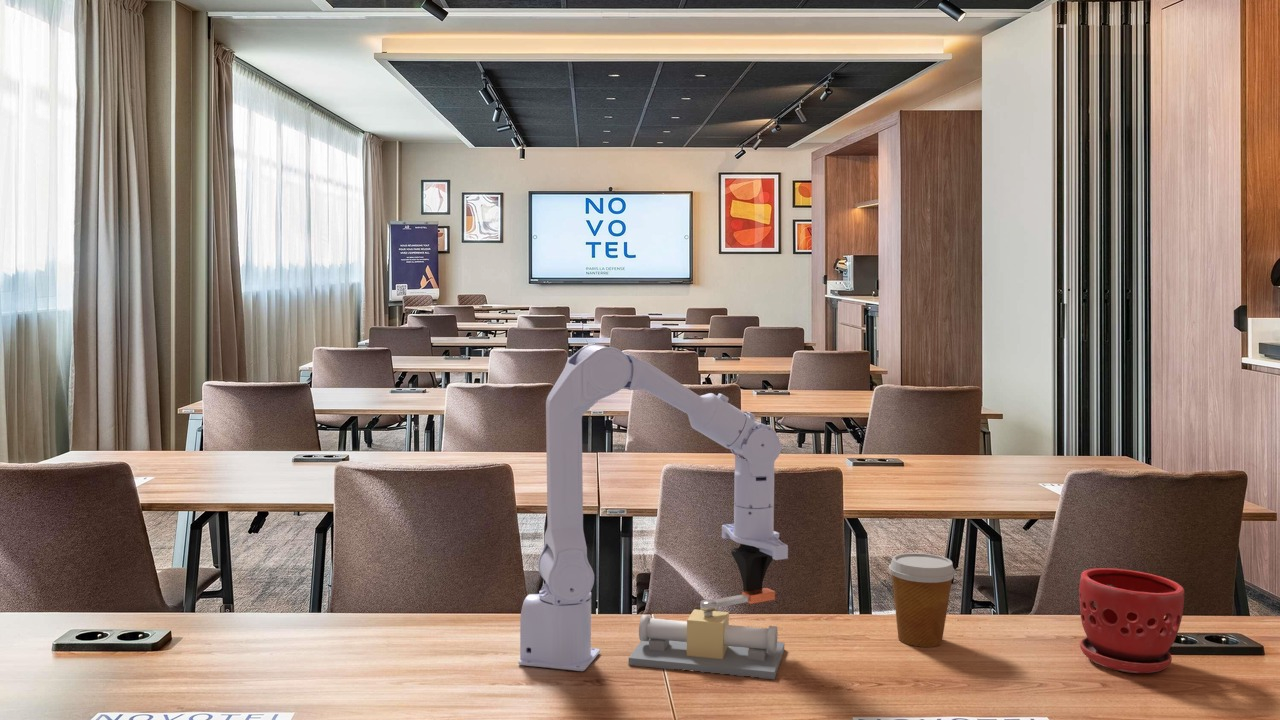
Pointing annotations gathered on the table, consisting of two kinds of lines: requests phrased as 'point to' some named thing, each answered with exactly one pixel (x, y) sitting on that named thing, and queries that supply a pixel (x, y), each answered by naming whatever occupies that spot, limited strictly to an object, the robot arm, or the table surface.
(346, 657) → the table surface
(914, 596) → the disposable coffee cup
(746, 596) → the valve lever
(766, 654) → the valve board
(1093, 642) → the plant pot
